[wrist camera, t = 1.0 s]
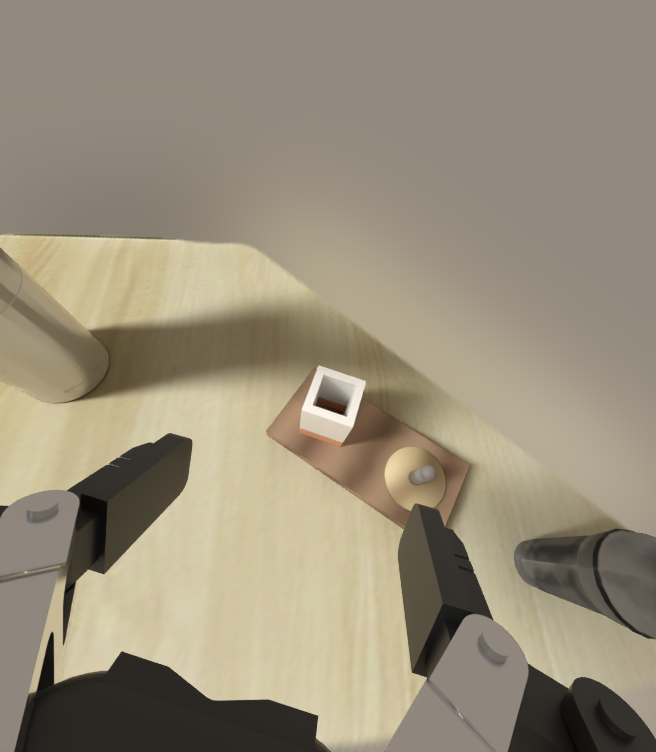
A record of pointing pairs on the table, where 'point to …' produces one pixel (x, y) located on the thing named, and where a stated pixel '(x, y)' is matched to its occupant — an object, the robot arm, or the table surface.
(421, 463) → the pin board
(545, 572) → the beverage cup
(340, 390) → the sleeve
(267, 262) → the table surface
